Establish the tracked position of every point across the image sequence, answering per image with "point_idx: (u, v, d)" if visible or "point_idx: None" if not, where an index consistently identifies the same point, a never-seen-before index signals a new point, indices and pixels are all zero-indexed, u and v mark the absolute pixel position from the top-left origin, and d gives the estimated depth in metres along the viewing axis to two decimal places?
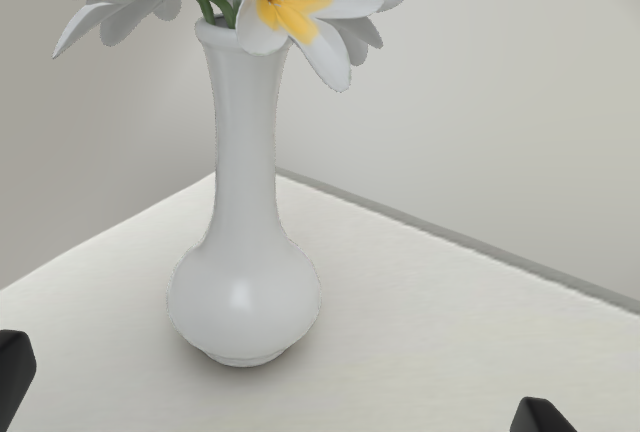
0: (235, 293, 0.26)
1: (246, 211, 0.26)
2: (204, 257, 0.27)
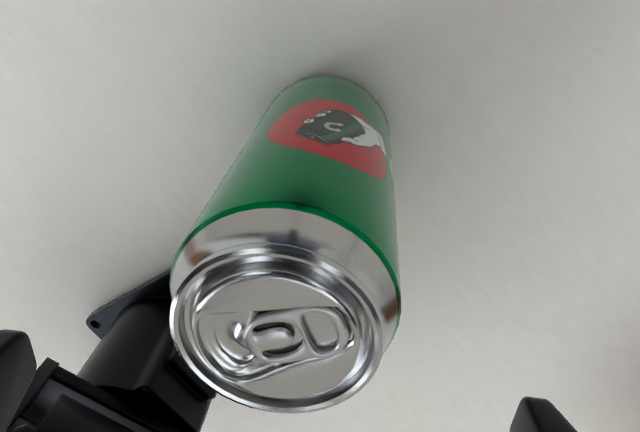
0: None
1: None
2: None
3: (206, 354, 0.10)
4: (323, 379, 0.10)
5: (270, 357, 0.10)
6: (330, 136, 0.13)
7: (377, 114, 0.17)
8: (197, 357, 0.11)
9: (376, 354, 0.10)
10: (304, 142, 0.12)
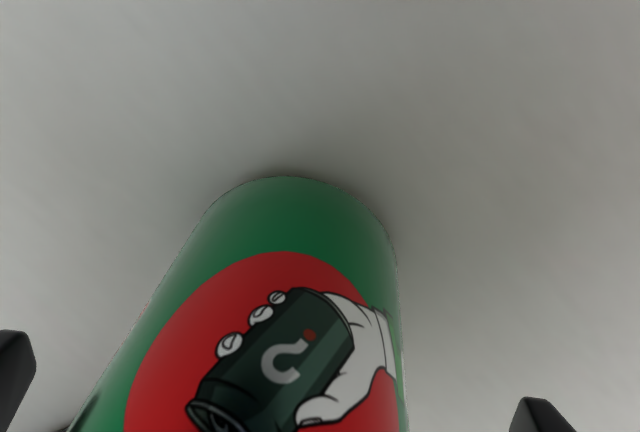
0: None
1: None
2: None
3: None
4: None
5: None
6: (270, 416, 0.06)
7: (377, 255, 0.10)
8: None
9: None
10: None
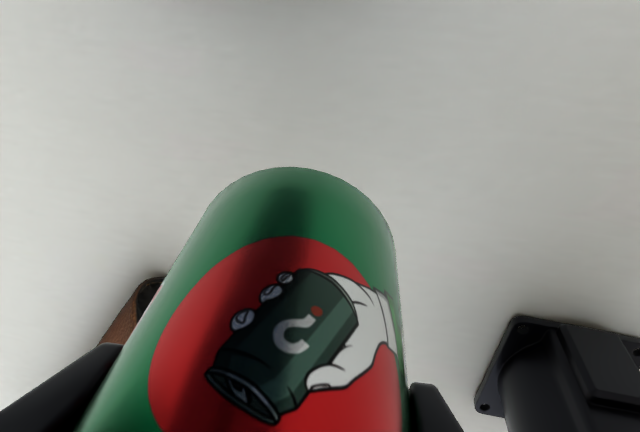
0: None
1: None
2: None
3: None
4: None
5: None
6: (283, 382, 0.06)
7: (378, 241, 0.10)
8: None
9: None
10: (217, 425, 0.05)
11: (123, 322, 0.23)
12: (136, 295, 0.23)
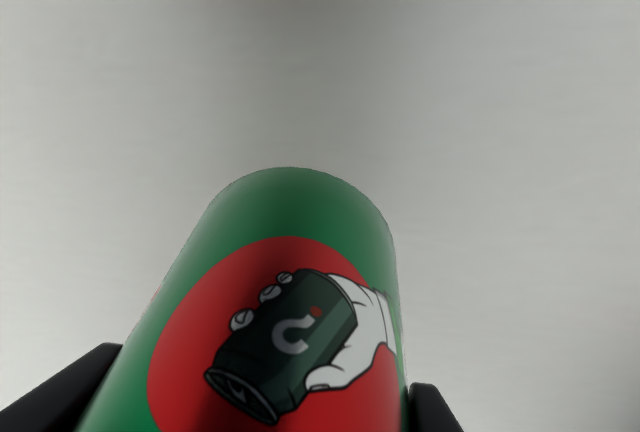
0: None
1: None
2: None
3: None
4: None
5: None
6: (282, 383, 0.06)
7: (377, 241, 0.10)
8: None
9: None
10: (215, 426, 0.05)
11: None
12: None
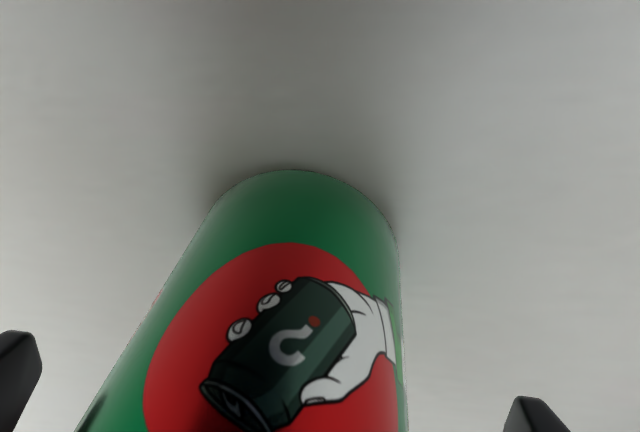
0: None
1: None
2: None
3: None
4: None
5: None
6: (277, 395, 0.06)
7: (380, 247, 0.10)
8: None
9: None
10: None
11: None
12: None
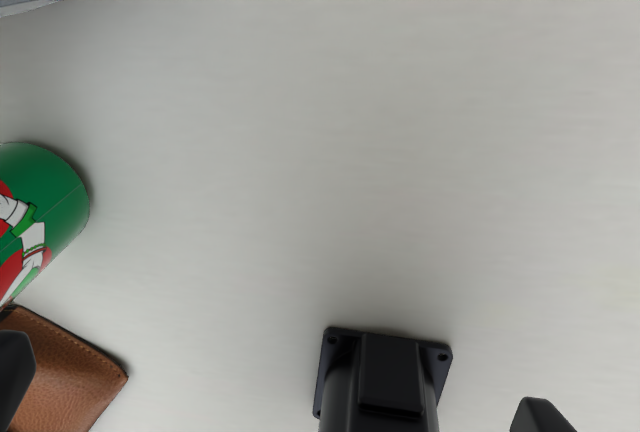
0: None
1: None
2: None
3: None
4: None
5: None
6: None
7: (48, 181, 0.20)
8: None
9: None
10: None
11: None
12: None
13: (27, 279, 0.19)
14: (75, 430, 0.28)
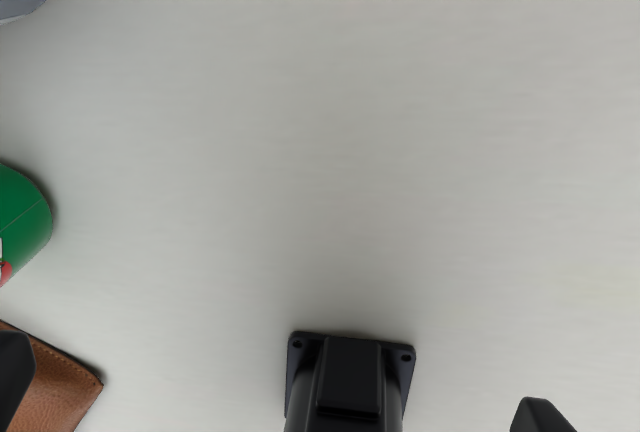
0: None
1: None
2: None
3: None
4: None
5: None
6: None
7: (6, 198, 0.21)
8: None
9: None
10: None
11: None
12: None
13: None
14: None
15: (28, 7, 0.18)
